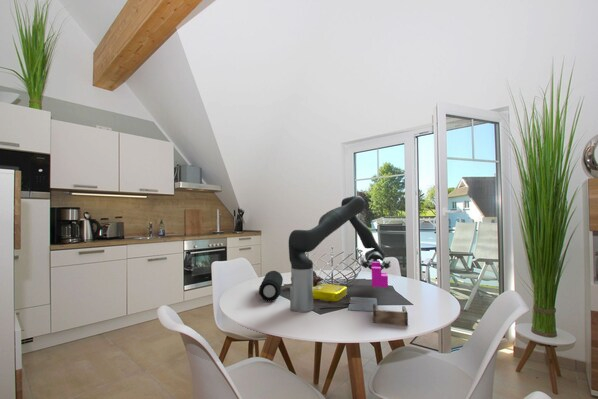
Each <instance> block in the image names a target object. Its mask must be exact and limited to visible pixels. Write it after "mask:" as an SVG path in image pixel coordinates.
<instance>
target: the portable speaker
mask: <svg viewBox="0 0 598 399" xmlns="http://www.w3.org/2000/svg"><path fill="white" fill-rule="evenodd" d="M283 281H284V279H283V276H282V274H281V273H280V272H279V271H277V270H269V271H268V272H267V273H266V274H265V275H264V278H263V279H262V281H261V284H260V286H259V287H258V293H259V297H261V299H262V300H264V301H266V302H273V301H276V300H277V299H278V297H279V296H280V295H281V294H280V293H281V290H282V287H283Z"/></svg>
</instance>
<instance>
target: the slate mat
mask: <svg viewBox="0 0 598 399" xmlns="http://www.w3.org/2000/svg"><path fill="white" fill-rule="evenodd" d="M350 299H351V300H359V301H360V300H362V301H363V300H366V301H370V302H364V303H358V304H348V308H347V311H354V312H355V311H356V312H370V313H373V304H375V305H376V310H379V308H378V299H377V297H363V296H362V297H361V296H350V298H349V300H350Z"/></svg>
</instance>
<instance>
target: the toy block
mask: <svg viewBox="0 0 598 399" xmlns="http://www.w3.org/2000/svg"><path fill="white" fill-rule="evenodd" d="M388 278H389V277H388V273H387V272H382V270H381V267H380V262H372V270H371V287H373V288H374V287H376V288H388V287H389V280H388Z"/></svg>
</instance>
